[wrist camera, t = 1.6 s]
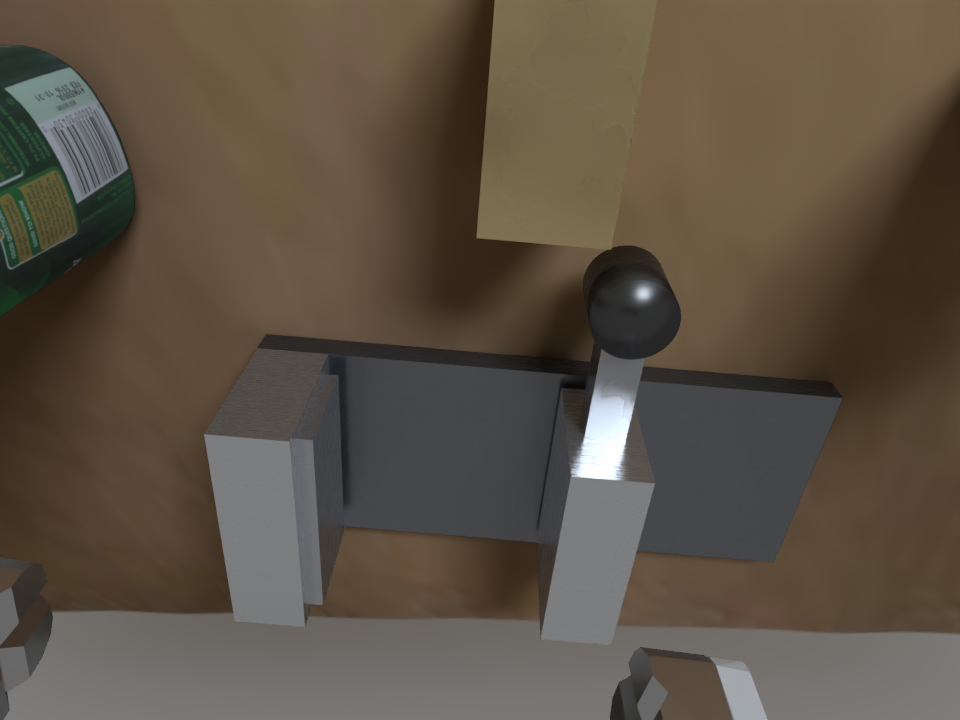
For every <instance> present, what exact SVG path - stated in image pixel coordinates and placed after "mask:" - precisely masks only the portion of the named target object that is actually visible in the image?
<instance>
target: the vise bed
mask: <svg viewBox="0 0 960 720" xmlns="http://www.w3.org/2000/svg"><path fill="white" fill-rule="evenodd" d="M589 367H590V362H583V361H571V360H560V359H548V358H536V357H524V356H513V355H501V354H489V353H478V352H466V351H454V350H443V349H431V348H419V347H407V346H396V345H384V344H372V343H361V342H349V341H337V340H326V339H314V338H302V337H290V336H279V335H267V334H266V335H265V337H264V339H263V340H262V342H261V344H260V345H259V347H258V348H257V350H256V352H255V353H254V355H253V356H252V358H251V360H250V361H249V363H248V364H247V366H246V368H245V369H244V371H243V373H242V374H241V376H240V377H239V379H238V381H237V382H236V384H235V385H234V387H233V389H232V390H231V392H230V393H229V395H228V397H227V398H226V400H225V401H224V403H223V405H222V406H221V408H220V410H219V411H218V413H217V414H216V416H215V418H214V419H213V421H212V422H211V424H210V426H209V427H208V429H207V430H206V432H205V434H204V437H205V443H206V449H207V455H208V461H209V467H210V473H211V479H212V486H213V492H214V498H215V504H216V510H217V516H218V522H219V528H220V534H221V540H222V546H223V552H224V559H225V565H226V571H227V577H228V583H229V589H230V595H231V601H232V607H233V613H234V619H235V621H238V622H251V623H262V624H274V625H286V626H298V627H305V626H306V623H307V619H308V616H309V613H310V609H311V606H312V604H316V605H323V604H324V600H325V597H326V593H327V590H328V586H329V582H330V579H331V575H332V572H333V568H334V565H335V561H336V558H337V554H338V551H339V547H340V544H341V540H342V537H343V533H344V526H348V527H360V528H372V529H384V530H395V531H407V532H419V533H431V534H443V535H455V536H467V537H479V538H490V539H502V540H514V541H526V542H537V534H538V527H539V521H540V515H541V509H542V503H543V497H544V491H545V485H546V479H547V473H548V466H549V460H550V454H551V448H552V442H553V436H554V430H555V424H556V418H557V412H558V405H559V399H560V393H561V388H569V389H581V390H585V389H586V384H587V378H588V373H589ZM842 399H843V398H842V396H841V395H840V393H839V392H838V391H837V389H836V388H835V387H834V385H833V384H832V383H829V382H817V381H805V380H793V379H782V378H770V377H758V376H747V375H735V374H723V373H712V372H700V371H688V370H676V369H665V368H653V367H643V369H642V374H641V378H640V382H639V387H638V391H637V395H636V399H635V404H634V405H635V409H636V413H637V417H638V420H639V424H640V428H641V432H642V436H643V440H644V443H645V447H646V451H647V455H648V459H649V463H650V466H651V470H652V474H653V478H654V482H655V485H654V489H653V493H652V496H651V500H650V504H649V507H648V511H647V515H646V518H645V522H644V526H643V529H642V533H641V537H640V540H639V544H638V548H637V551H645V552H657V553H669V554H681V555H693V556H704V557H716V558H728V559H740V560H752V561H764V562H774V560H775V558H776V556H777V553H778V551H779V549H780V546H781V544H782V541H783V539H784V537H785V534H786V532H787V530H788V527H789V525H790V522H791V520H792V518H793V515H794V513H795V511H796V508H797V506H798V503H799V501H800V499H801V496H802V494H803V492H804V489H805V487H806V484H807V482H808V480H809V477H810V475H811V473H812V470H813V468H814V465H815V463H816V461H817V458H818V456H819V454H820V451H821V449H822V446H823V444H824V442H825V439H826V437H827V435H828V432H829V430H830V427H831V425H832V423H833V420H834V418H835V416H836V413H837V411H838V408H839V406H840V404H841V401H842Z"/></svg>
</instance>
